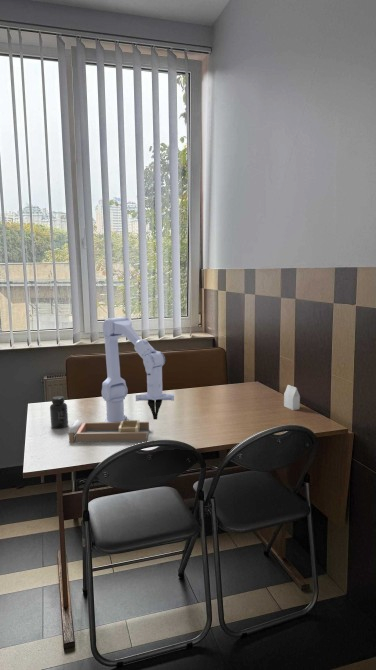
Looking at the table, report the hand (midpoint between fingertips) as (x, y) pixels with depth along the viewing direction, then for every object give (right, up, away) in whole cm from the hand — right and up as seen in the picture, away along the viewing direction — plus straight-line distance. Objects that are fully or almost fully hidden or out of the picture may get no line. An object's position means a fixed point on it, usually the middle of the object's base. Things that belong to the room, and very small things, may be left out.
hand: (155, 418), depth 184 cm
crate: (-10, -7, +1) cm, 12 cm away
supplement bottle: (-40, -5, +13) cm, 43 cm away
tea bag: (+60, -1, +35) cm, 69 cm away
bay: (-18, -7, +1) cm, 19 cm away
